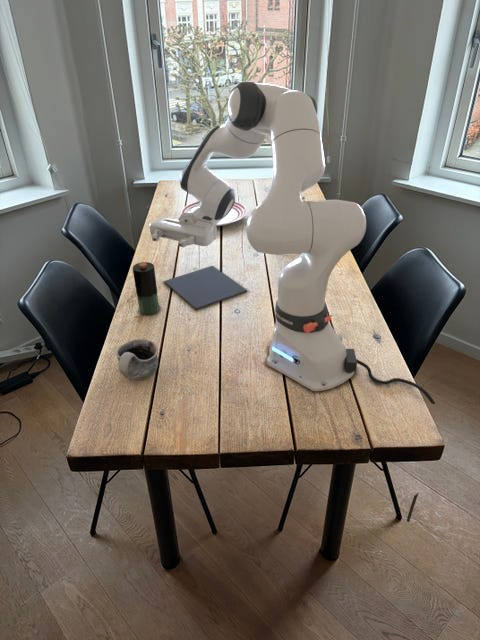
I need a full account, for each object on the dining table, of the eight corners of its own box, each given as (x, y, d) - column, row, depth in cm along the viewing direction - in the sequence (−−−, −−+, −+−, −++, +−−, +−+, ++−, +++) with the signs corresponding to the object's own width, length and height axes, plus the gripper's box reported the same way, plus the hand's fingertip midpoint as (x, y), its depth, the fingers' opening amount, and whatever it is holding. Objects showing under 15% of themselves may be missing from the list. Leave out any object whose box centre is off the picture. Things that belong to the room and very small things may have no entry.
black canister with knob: (161, 295, 134) (157, 265, 128) (142, 302, 131) (137, 271, 126) (152, 287, 138) (148, 257, 132) (133, 293, 135) (128, 263, 130)
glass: (162, 311, 137) (160, 293, 133) (144, 317, 134) (142, 299, 131) (153, 302, 140) (151, 285, 137) (136, 308, 138) (133, 290, 134)
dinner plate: (241, 232, 182) (241, 224, 181) (173, 229, 186) (172, 221, 184) (251, 207, 205) (251, 200, 203) (190, 204, 209) (189, 197, 207)
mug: (164, 361, 117) (159, 328, 112) (155, 396, 107) (149, 361, 101) (125, 361, 118) (119, 328, 112) (112, 395, 107) (105, 361, 102)
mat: (246, 291, 145) (246, 289, 145) (196, 310, 137) (196, 308, 136) (212, 267, 159) (212, 265, 159) (164, 282, 151) (164, 281, 150)
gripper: (163, 209, 149) (136, 225, 139) (220, 220, 142) (196, 237, 132) (165, 228, 153) (139, 245, 143) (220, 239, 145) (197, 258, 135)
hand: (167, 241), depth 137 cm, fingers open, 8 cm apart
